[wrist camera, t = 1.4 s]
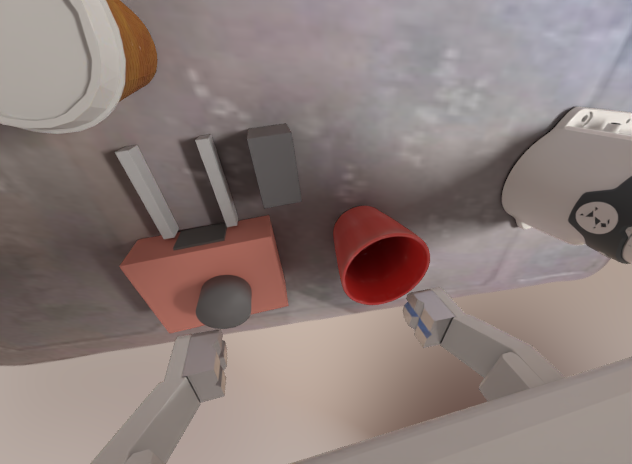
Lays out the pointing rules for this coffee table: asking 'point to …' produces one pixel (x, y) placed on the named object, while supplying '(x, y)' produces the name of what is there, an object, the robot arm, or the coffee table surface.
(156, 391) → the robot arm
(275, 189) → the tall grey rectangular block
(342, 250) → the flower pot
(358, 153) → the coffee table surface
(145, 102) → the coffee table surface
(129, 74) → the disposable coffee cup
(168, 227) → the pink block with rods
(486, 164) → the coffee table surface
